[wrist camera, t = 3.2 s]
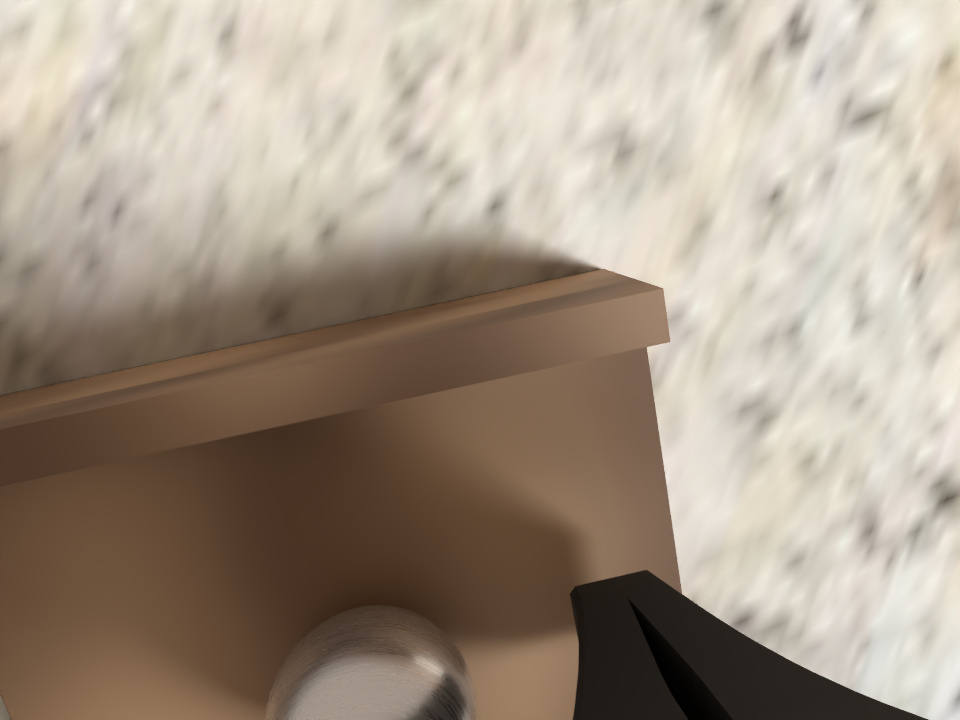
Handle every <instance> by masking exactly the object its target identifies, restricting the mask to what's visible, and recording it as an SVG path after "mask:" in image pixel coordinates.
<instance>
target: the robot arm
mask: <svg viewBox="0 0 960 720" xmlns="http://www.w3.org/2000/svg"><path fill="white" fill-rule="evenodd" d="M570 598H571V604H572V609H573V615H574V620H575V625H576V631H577V636H578V642H579V662H578V679H577V689H576V698H575V708H574V715H573V720H928V719H925V718H922V717H920V716H917V715H914V714H912V713H909V712H906V711H904V710H901V709H898V708H895V707H893V706H890V705H887V704H885V703H882V702H880V701H877V700H875V699H872V698H870V697H867V696H865V695H862V694H860V693H858V692H855V691H853V690H851V689H849V688H846V687H844V686H842V685H840V684H838V683H836V682H833V681H831V680H829V679H827V678H825V677H822V676H820V675H818V674H816V673H814V672H812V671H810V670H808V669H806V668H804V667H802V666H800V665H798V664H796V663H794V662H792V661H790V660H788V659H786V658H784V657H782V656H781V655H779V654H777V653H775V652H773V651H772V650H770V649H768V648H766V647H764V646H763V645H761V644H759V643H757V642H755V641H754V640H752V639H750V638H749V637H747V636H745V635H744V634H742V633H740V632H739V631H737V630H735V629H734V628H732V627H731V626H729V625H727V624H726V623H724V622H723V621H721V620H720V619H718V618H716V617H715V616H713V615H712V614H710V613H709V612H707V611H706V610H704V609H703V608H701V607H700V606H698V605H697V604H695V603H694V602H693V601H691V600H690V599H688V598H687V597H685V596H684V595H682V594H681V593H680V592H678V591H677V590H675V589H674V588H672V587H671V586H670V585H668V584H667V583H665V582H664V581H662V580H661V579H660V578H658V577H657V576H655V575H654V574H652V573H651V572H649V571H648V570H643V571H639V572H635V573H630V574H626V575H621V576H617V577H613V578H608V579H604V580H600V581H595V582H591V583H587V584H582V585H578V586H575V587H574V589H573V590H572V591H571V593H570Z"/></svg>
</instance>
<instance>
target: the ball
mask: <svg viewBox="0 0 960 720" xmlns="http://www.w3.org/2000/svg"><path fill="white" fill-rule="evenodd" d="M265 720H478V713H477V699H476V692H475V688H474V683H473V680H472V677H471V674H470V671H469V669H468V666H467V664H466V662H465V660H464V658H463V656H462V654H461V652H460V651H459V650H458V648H457V647H456V645H455V644H454V643H453V641H452V640H451V639H450V638H449V637H448V636H447V634H446V633H445V632H444V631H443V630H441V629H440V628H439V627H438V626H437V625H435V624H434V623H433V622H431V621H430V620H428V619H426V618H425V617H423V616H421V615H419V614H417V613H415V612H413V611H410V610H406V609H403V608H399V607H394V606H385V605H372V606H363V607H357V608H353V609H350V610H347V611H344V612H342V613H339V614H337V615H335V616H333V617H331V618H329V619H327V620H326V621H324V622H322V623H321V624H319V625H318V626H316V627H315V628H314V629H313V630H311V631H310V632H309V633H308V634H307V635H306V636H305V637H304V638H303V639H302V640H301V641H300V642H299V643H298V644H297V645H296V646H295V647H294V649H293V650H292V651H291V653H290V654H289V655H288V657H287V658H286V660H285V662H284V663H283V665H282V667H281V668H280V670H279V672H278V674H277V677H276V679H275V682H274V684H273V687H272V689H271V692H270V695H269V699H268V703H267V708H266V713H265Z"/></svg>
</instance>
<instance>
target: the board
mask: <svg viewBox="0 0 960 720" xmlns="http://www.w3.org/2000/svg"><path fill="white" fill-rule="evenodd" d="M667 342H670V337H669V329H668V322H667V314H666V307H665V300H664V292H663V288H660V287H657V286H654V285H651V284H648V283H645V282H642V281H639V280H636V279H633V278H630V277H627V276H624V275H620V274H617V273H614V272H611V271H608V270H605V269H601V270H596V271H591V272H587V273H582V274H577V275H572V276H568V277H563V278H558V279H553V280H549V281H544V282H539V283H534V284H530V285H525V286H520V287H515V288H511V289H506V290H501V291H496V292H492V293H487V294H482V295H477V296H473V297H468V298H463V299H458V300H453V301H449V302H444V303H439V304H434V305H430V306H425V307H420V308H415V309H411V310H406V311H401V312H396V313H392V314H387V315H382V316H377V317H373V318H368V319H363V320H358V321H354V322H349V323H344V324H339V325H335V326H330V327H325V328H320V329H315V330H311V331H306V332H301V333H296V334H292V335H287V336H282V337H277V338H273V339H268V340H263V341H258V342H254V343H249V344H244V345H239V346H235V347H230V348H225V349H220V350H216V351H211V352H206V353H201V354H197V355H192V356H187V357H182V358H177V359H173V360H168V361H163V362H158V363H154V364H149V365H144V366H139V367H135V368H130V369H125V370H120V371H116V372H111V373H106V374H101V375H97V376H92V377H87V378H82V379H78V380H73V381H68V382H63V383H59V384H54V385H49V386H44V387H40V388H35V389H30V390H25V391H20V392H16V393H11V394H6V395H1V396H0V694H1V696H2V699H3V701H4V704H5V706H6V708H7V711H8V713H9V715H10V718H11V720H265V713H266V708H267V703H268V699H269V695H270V692H271V689H272V687H273V684H274V682H275V679H276V677H277V674H278V672H279V670H280V668H281V667H282V665H283V663H284V662H285V660H286V658H287V657H288V655H289V654H290V653H291V651H292V650H293V649H294V647H295V646H296V645H297V644H298V643H299V642H300V641H301V640H302V639H303V638H304V637H305V636H306V635H307V634H308V633H309V632H310V631H311V630H313V629H314V628H315V627H316V626H318V625H319V624H321V623H322V622H324V621H326V620H327V619H329V618H331V617H333V616H335V615H337V614H339V613H342V612H344V611H347V610H350V609H353V608H357V607H363V606H372V605H385V606H394V607H399V608H403V609H406V610H410V611H413V612H415V613H417V614H419V615H421V616H423V617H425V618H426V619H428V620H430V621H431V622H433V623H434V624H435V625H437V626H438V627H439V628H440V629H441V630H443V631H444V632H445V633H446V634H447V636H448V637H449V638H450V639H451V640H452V641H453V643H454V644H455V645H456V647H457V648H458V650H459V651H460V652H461V654H462V656H463V658H464V660H465V662H466V664H467V666H468V669H469V671H470V674H471V677H472V680H473V683H474V688H475V692H476V699H477V713H478V720H573V715H574V708H575V698H576V689H577V679H578V662H579V642H578V636H577V631H576V625H575V620H574V615H573V609H572V604H571V598H570V593H571V591H572V590H573V589H574V587H575V586H578V585H582V584H587V583H591V582H595V581H600V580H604V579H608V578H613V577H617V576H621V575H626V574H630V573H635V572H639V571H643V570H648V571H649V572H651V573H652V574H654V575H655V576H657V577H658V578H660V579H661V580H662V581H664V582H665V583H667V584H668V585H670V586H671V587H672V588H674V589H675V590H677V591H678V592H680V593H681V594H682V591H681V584H680V577H679V570H678V563H677V556H676V549H675V542H674V535H673V528H672V521H671V514H670V507H669V500H668V493H667V486H666V479H665V472H664V466H663V459H662V452H661V445H660V438H659V431H658V424H657V417H656V410H655V403H654V396H653V389H652V382H651V375H650V368H649V361H648V354H647V347H648V346H653V345H658V344H662V343H667Z"/></svg>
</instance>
